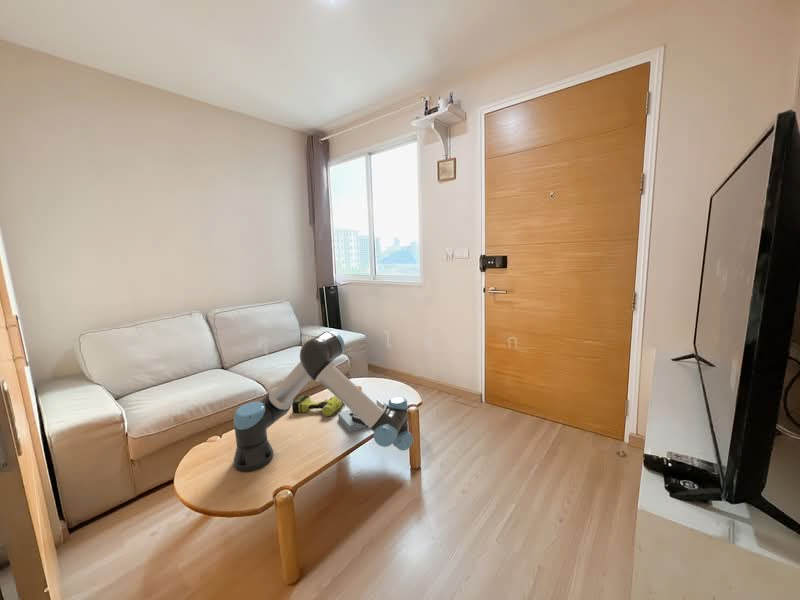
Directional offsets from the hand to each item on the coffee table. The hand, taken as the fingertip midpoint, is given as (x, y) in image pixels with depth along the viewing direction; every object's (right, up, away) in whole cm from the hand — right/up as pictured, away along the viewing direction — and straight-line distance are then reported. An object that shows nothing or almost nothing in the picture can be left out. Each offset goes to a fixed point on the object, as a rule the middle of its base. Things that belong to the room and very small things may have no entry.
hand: (364, 405), depth 157 cm
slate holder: (-4, -11, +9) cm, 15 cm away
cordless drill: (-27, -9, +27) cm, 39 cm away
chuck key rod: (-4, -11, +9) cm, 15 cm away
